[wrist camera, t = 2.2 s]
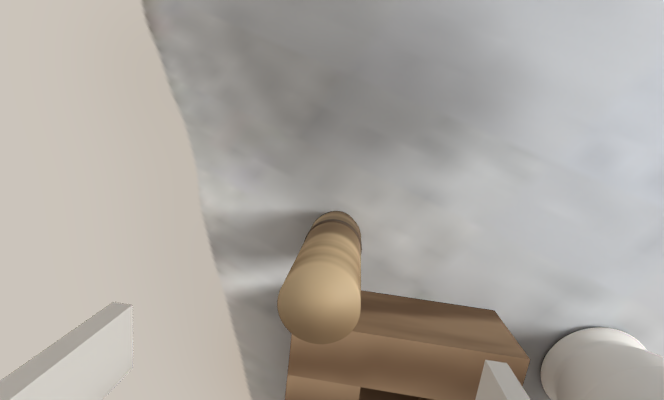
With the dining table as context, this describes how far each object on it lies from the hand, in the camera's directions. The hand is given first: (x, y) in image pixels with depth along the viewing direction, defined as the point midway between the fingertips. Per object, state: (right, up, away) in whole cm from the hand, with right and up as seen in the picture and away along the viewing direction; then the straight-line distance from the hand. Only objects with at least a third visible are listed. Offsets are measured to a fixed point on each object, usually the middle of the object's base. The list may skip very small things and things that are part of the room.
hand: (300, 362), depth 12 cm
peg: (+2, +3, +15) cm, 16 cm away
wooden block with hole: (+6, -11, +18) cm, 22 cm away
